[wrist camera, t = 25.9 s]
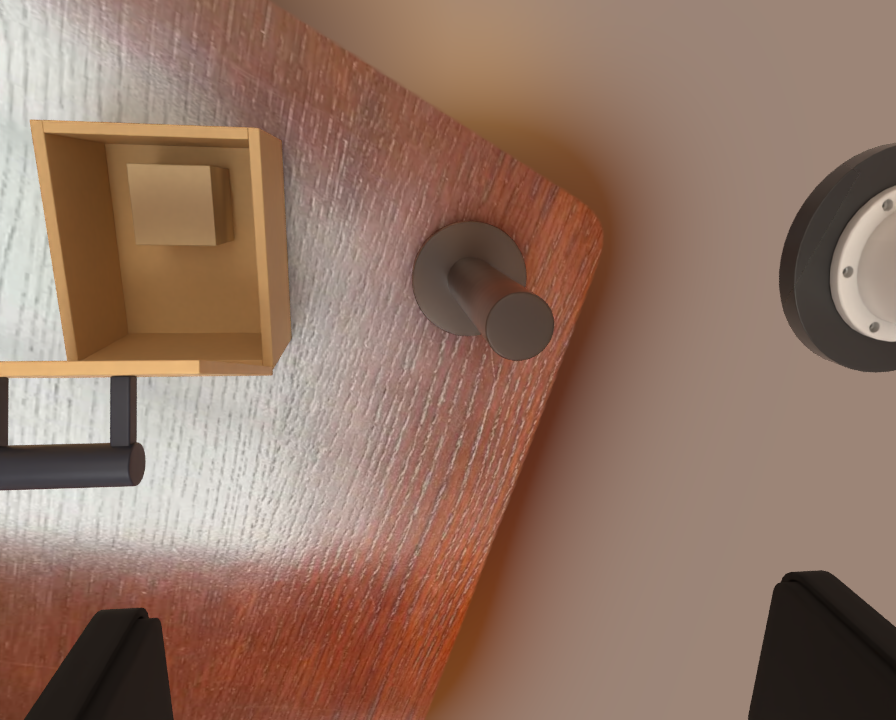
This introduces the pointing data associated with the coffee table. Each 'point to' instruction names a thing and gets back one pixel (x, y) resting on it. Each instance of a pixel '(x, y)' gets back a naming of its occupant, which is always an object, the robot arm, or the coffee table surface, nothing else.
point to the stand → (481, 289)
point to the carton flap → (123, 453)
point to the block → (180, 204)
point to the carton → (164, 246)
